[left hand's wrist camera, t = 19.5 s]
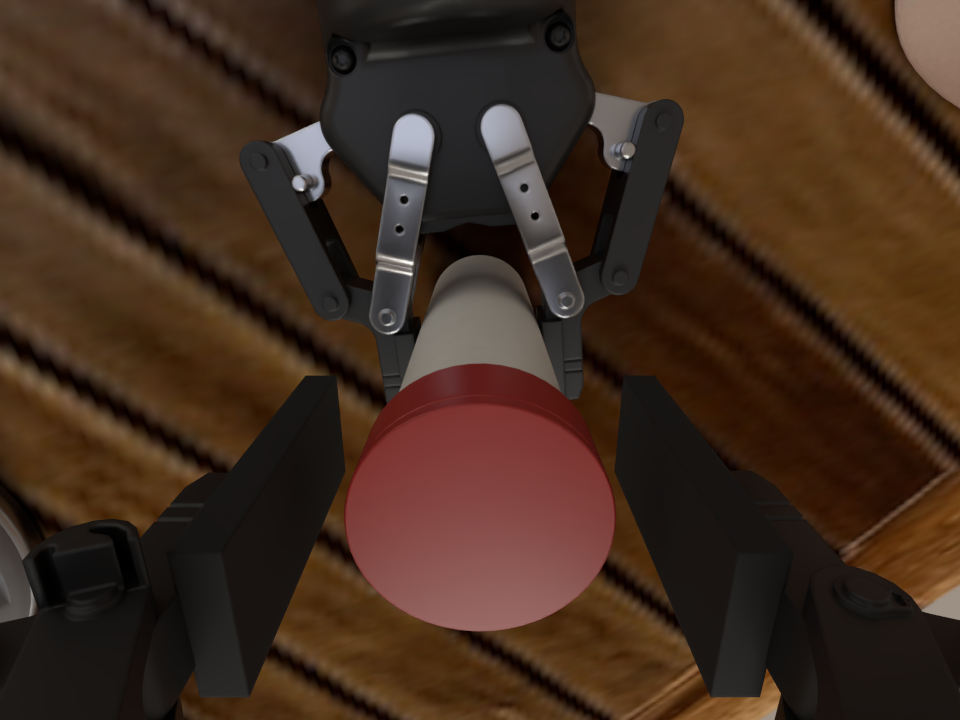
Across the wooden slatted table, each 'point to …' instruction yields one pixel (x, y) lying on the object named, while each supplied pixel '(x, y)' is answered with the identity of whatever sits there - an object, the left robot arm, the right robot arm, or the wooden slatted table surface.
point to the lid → (480, 500)
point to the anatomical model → (932, 42)
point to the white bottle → (480, 322)
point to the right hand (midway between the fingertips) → (487, 410)
